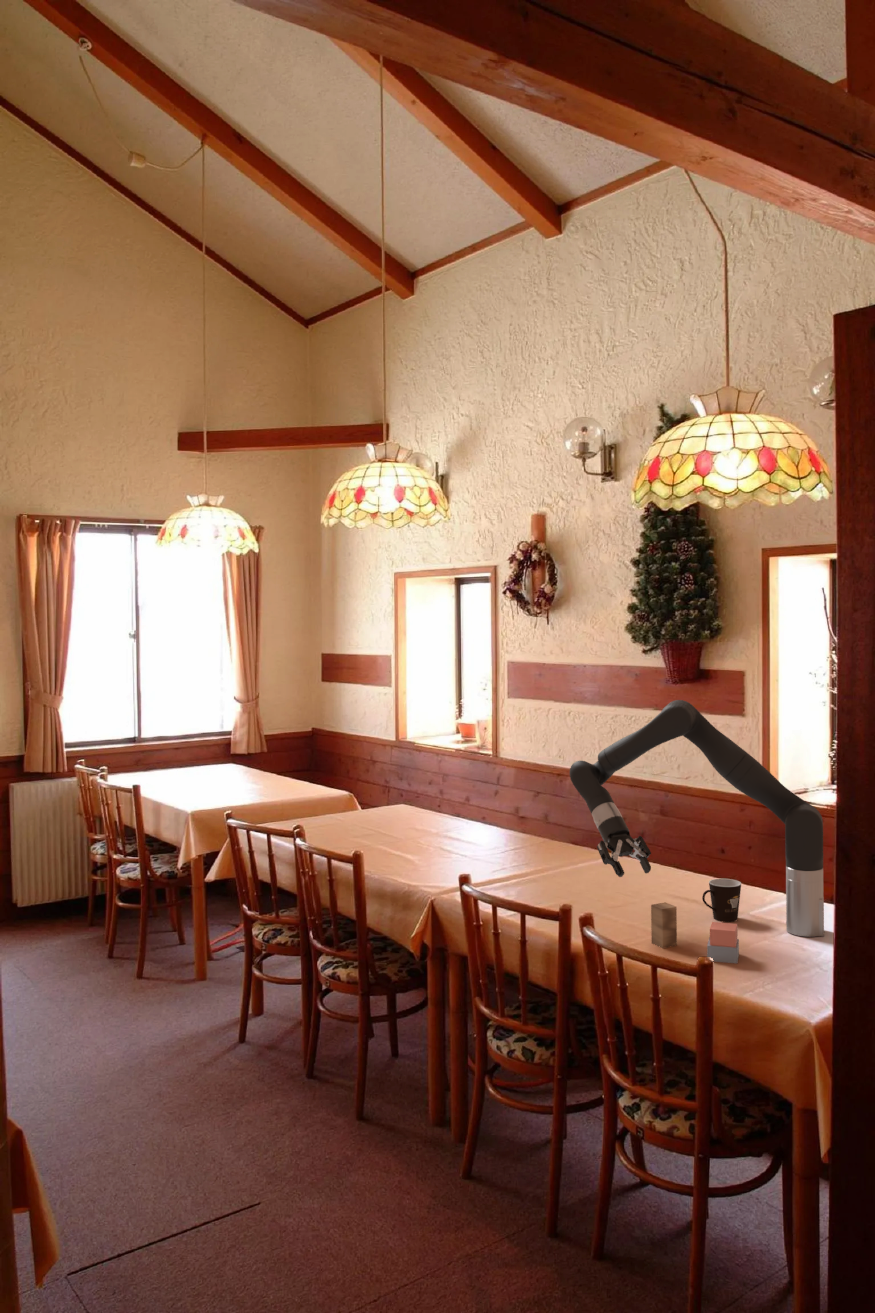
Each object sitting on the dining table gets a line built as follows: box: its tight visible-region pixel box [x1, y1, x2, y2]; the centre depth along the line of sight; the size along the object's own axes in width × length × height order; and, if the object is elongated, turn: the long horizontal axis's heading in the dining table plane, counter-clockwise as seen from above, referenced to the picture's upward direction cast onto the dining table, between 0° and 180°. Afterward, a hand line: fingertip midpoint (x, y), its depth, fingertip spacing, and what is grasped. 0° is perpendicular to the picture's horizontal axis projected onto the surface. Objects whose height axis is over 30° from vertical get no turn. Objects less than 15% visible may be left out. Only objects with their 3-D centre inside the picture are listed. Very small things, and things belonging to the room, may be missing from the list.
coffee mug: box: [702, 878, 742, 923], centre depth 279 cm, size 12×9×10 cm
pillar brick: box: [650, 902, 678, 949], centre depth 259 cm, size 4×4×10 cm
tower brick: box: [709, 921, 738, 948], centre depth 248 cm, size 6×6×4 cm
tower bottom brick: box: [706, 936, 740, 964], centre depth 248 cm, size 7×7×4 cm
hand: (635, 873), depth 269 cm, fingers open, 8 cm apart
